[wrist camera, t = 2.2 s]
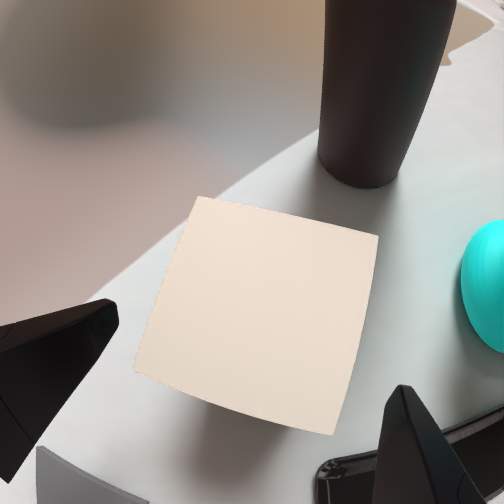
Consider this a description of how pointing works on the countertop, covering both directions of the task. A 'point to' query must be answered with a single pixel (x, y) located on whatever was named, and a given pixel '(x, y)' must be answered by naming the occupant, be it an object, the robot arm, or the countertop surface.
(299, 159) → the countertop surface
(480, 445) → the phone
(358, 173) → the bottle
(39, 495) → the mat
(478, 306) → the donuts
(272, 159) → the countertop surface
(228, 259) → the tea tin
